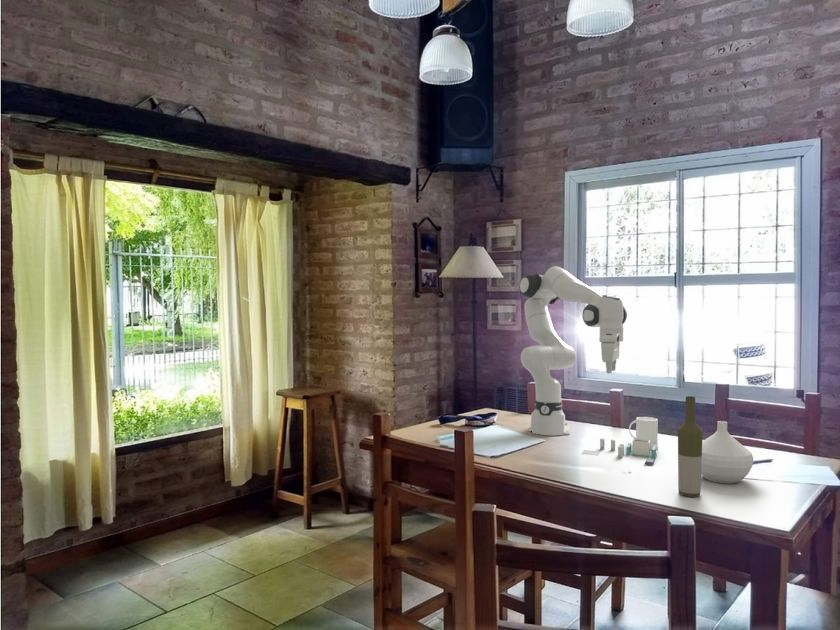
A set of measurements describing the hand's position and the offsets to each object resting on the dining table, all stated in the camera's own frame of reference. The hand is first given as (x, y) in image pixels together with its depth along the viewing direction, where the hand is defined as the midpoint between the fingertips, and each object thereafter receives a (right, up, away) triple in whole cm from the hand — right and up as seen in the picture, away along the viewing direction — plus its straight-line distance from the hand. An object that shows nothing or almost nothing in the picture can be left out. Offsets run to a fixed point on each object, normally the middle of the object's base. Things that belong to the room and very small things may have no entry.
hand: (611, 371), depth 241 cm
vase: (+25, -32, -37) cm, 55 cm away
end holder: (+9, -30, -9) cm, 33 cm away
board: (0, -31, -8) cm, 32 cm away
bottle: (+8, -33, -53) cm, 62 cm away
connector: (+9, -30, -9) cm, 32 cm away
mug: (+15, -31, +6) cm, 35 cm away
